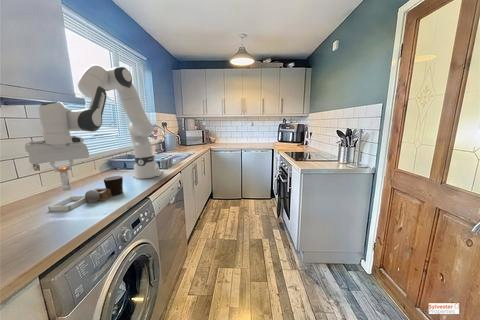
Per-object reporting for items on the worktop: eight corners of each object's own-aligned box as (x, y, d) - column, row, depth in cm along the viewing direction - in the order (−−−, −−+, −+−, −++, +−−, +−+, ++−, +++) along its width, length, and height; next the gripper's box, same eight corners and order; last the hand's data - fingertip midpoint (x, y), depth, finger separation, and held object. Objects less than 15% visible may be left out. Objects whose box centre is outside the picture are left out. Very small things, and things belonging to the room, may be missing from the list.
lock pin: (67, 188, 97) (63, 167, 95) (72, 188, 96) (68, 167, 95) (61, 190, 94) (57, 168, 93) (66, 190, 94) (62, 168, 92)
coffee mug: (119, 199, 106) (116, 179, 104) (102, 199, 106) (99, 180, 104) (131, 191, 118) (129, 174, 116) (116, 191, 118) (113, 174, 116)
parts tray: (72, 201, 103) (71, 196, 103) (90, 201, 104) (89, 195, 103) (49, 213, 91) (47, 206, 90) (70, 212, 91) (69, 205, 90)
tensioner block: (97, 197, 108) (95, 184, 107) (113, 197, 108) (111, 183, 107) (84, 205, 98) (81, 191, 97) (101, 204, 98) (99, 190, 97)
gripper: (23, 142, 82) (31, 176, 84) (87, 138, 96) (92, 167, 99) (23, 141, 86) (30, 174, 89) (84, 137, 101) (89, 166, 103)
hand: (63, 170), depth 94 cm, fingers closed on lock pin, 3 cm apart
